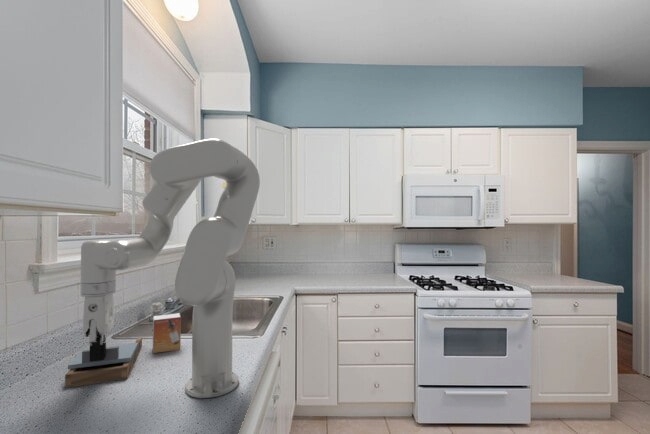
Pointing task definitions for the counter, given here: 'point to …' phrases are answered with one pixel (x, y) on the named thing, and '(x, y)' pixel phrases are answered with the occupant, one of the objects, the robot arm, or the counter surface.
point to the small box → (166, 332)
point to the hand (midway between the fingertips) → (97, 359)
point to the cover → (112, 356)
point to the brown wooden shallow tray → (101, 371)
